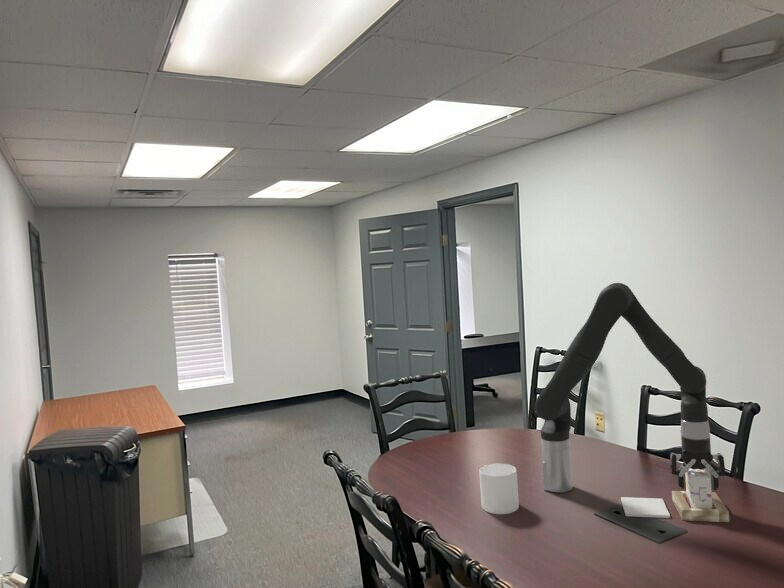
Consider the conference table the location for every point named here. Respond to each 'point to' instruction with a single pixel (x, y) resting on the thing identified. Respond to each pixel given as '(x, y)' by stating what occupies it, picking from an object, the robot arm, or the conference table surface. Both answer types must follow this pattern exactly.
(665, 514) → the pad
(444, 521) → the conference table surface
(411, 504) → the conference table surface
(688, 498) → the ink cartridge box
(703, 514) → the frame
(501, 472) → the cup
